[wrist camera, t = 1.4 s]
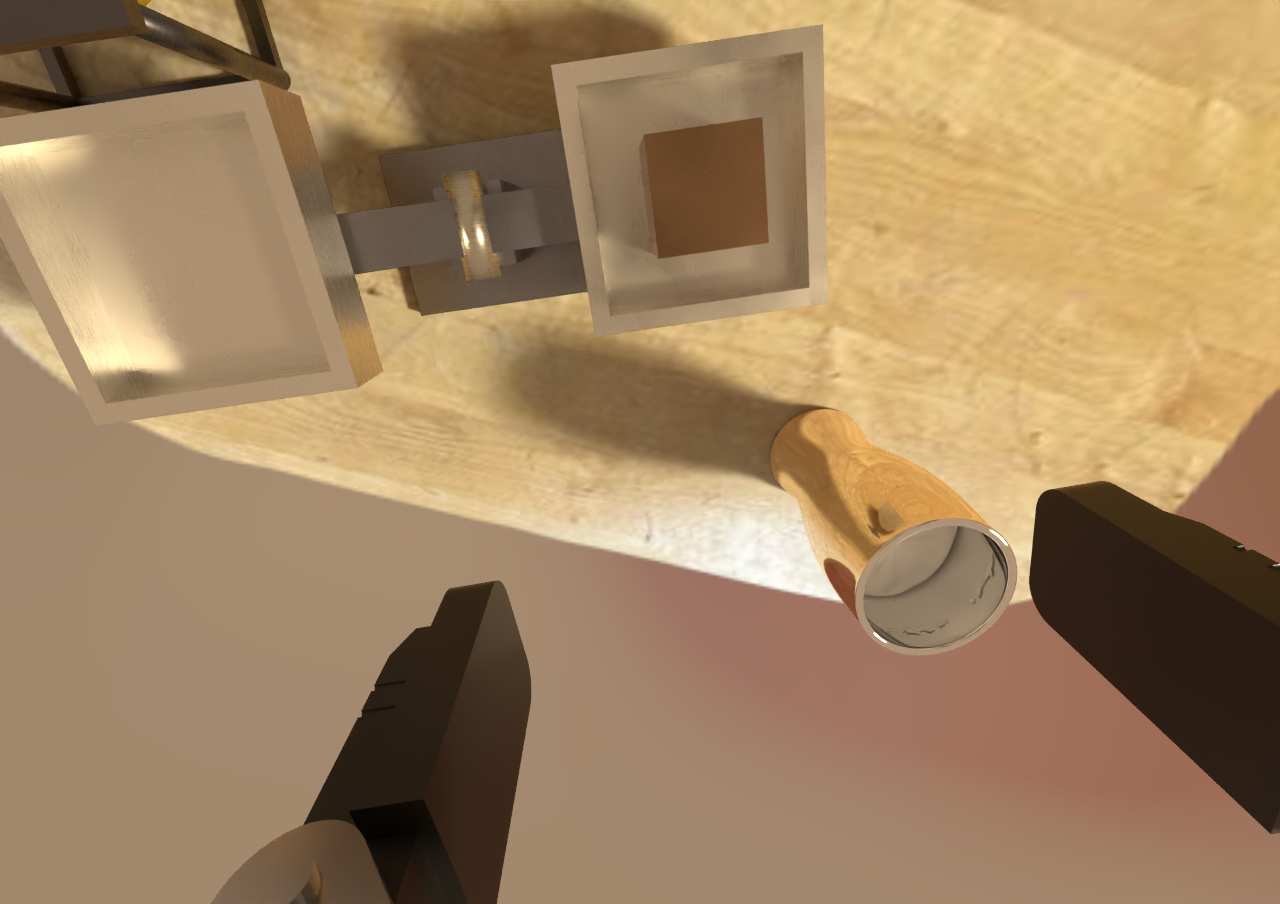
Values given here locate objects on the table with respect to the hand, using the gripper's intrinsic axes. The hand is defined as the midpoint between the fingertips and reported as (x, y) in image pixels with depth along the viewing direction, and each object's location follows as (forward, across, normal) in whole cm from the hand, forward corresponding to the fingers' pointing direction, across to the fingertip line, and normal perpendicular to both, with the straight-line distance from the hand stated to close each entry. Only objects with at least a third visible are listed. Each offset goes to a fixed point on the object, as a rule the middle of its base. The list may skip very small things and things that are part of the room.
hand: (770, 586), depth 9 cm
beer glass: (+27, -9, +10) cm, 30 cm away
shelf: (+27, +8, -6) cm, 29 cm away
